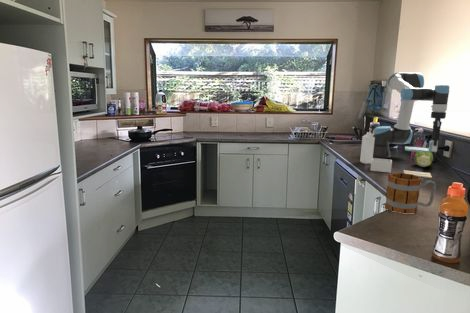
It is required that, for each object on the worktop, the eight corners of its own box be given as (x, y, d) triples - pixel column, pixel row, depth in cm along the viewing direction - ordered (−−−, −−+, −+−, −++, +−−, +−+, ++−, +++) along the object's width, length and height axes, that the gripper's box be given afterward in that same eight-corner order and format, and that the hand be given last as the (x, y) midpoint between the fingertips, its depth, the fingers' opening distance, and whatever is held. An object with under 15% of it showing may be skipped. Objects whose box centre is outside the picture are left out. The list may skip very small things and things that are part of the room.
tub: (370, 168, 230) (372, 157, 229) (390, 170, 226) (391, 159, 224) (370, 171, 221) (371, 160, 220) (390, 173, 217) (391, 162, 215)
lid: (404, 147, 221) (405, 138, 220) (435, 150, 214) (436, 140, 213) (405, 150, 211) (406, 140, 210) (437, 153, 204) (438, 143, 203)
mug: (388, 213, 148) (392, 179, 145) (381, 203, 161) (384, 171, 158) (438, 217, 145) (443, 182, 142) (427, 206, 158) (431, 174, 155)
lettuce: (412, 169, 231) (414, 152, 229) (413, 163, 249) (415, 147, 247) (432, 171, 226) (434, 154, 224) (431, 165, 244) (434, 149, 242)
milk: (367, 162, 248) (370, 131, 244) (372, 164, 242) (375, 133, 238) (359, 162, 247) (362, 131, 243) (364, 164, 241) (367, 133, 237)
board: (403, 171, 224) (403, 170, 224) (429, 174, 218) (430, 172, 218) (404, 175, 214) (404, 173, 214) (431, 178, 208) (431, 176, 208)
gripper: (430, 110, 215) (425, 147, 219) (433, 112, 199) (427, 152, 203) (444, 111, 212) (438, 148, 216) (448, 112, 196) (442, 153, 200)
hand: (433, 150), depth 210 cm, fingers closed on lid, 4 cm apart
